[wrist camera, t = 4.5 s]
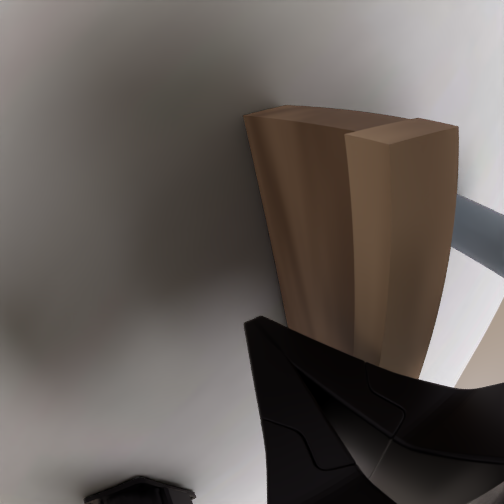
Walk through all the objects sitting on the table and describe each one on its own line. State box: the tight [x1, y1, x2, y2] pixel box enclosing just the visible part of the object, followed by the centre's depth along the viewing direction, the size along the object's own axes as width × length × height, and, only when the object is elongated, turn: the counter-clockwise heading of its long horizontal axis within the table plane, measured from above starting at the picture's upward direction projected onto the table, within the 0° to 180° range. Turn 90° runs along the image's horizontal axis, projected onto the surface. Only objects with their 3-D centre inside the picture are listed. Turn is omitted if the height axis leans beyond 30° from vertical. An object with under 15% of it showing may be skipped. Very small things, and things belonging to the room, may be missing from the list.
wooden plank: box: [243, 105, 459, 379], centre depth 11 cm, size 2×18×6 cm, turn 14°
